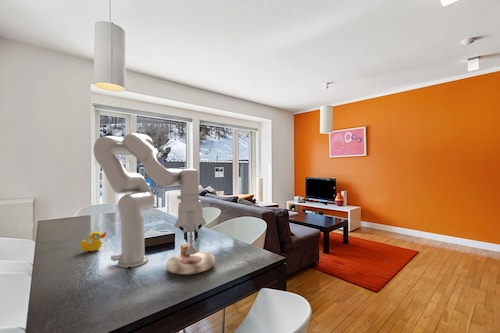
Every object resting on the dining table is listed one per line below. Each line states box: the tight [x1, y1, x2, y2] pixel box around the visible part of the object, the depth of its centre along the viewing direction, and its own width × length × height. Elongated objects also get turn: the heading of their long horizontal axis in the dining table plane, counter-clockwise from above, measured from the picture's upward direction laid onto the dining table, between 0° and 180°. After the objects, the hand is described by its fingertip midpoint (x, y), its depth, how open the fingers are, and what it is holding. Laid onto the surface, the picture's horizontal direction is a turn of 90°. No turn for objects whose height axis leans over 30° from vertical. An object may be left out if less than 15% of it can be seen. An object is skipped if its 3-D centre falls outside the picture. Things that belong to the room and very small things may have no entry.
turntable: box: [166, 243, 216, 275], centre depth 103 cm, size 20×20×6 cm
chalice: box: [185, 211, 199, 255], centre depth 103 cm, size 7×7×18 cm
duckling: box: [80, 231, 107, 253], centre depth 126 cm, size 11×5×10 cm, turn 126°
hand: (191, 240), depth 103 cm, fingers closed on chalice, 3 cm apart
